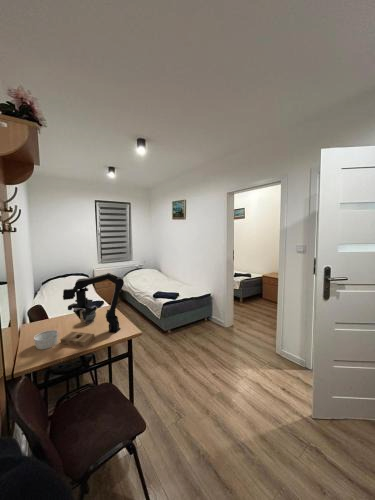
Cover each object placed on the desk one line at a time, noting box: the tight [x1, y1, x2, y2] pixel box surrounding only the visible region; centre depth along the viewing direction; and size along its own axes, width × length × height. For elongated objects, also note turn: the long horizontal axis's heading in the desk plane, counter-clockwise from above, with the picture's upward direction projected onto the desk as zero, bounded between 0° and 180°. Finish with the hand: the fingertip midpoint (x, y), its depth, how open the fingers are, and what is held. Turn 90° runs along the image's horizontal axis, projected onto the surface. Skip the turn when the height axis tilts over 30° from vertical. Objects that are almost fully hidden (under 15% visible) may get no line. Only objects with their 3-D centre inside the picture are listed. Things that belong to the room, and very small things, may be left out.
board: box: [59, 331, 95, 348], centre depth 138 cm, size 18×10×3 cm, turn 77°
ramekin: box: [33, 329, 59, 350], centre depth 134 cm, size 13×13×7 cm
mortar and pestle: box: [84, 306, 98, 325], centre depth 165 cm, size 11×9×12 cm
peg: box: [79, 309, 85, 324], centre depth 142 cm, size 3×3×8 cm
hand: (82, 319), depth 143 cm, fingers closed on peg, 3 cm apart
